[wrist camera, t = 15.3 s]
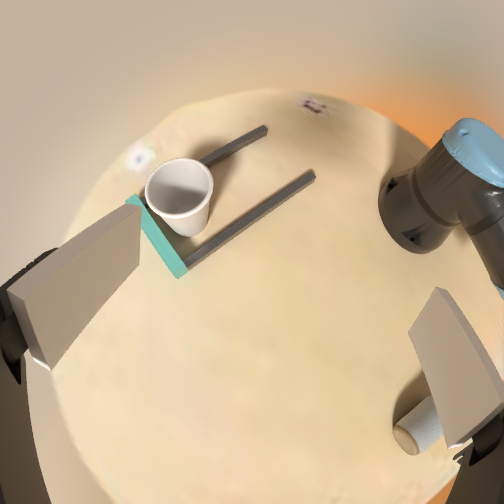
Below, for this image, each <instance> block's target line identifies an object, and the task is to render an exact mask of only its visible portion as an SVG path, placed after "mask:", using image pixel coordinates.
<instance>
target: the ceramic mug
mask: <svg viewBox="0 0 504 504" xmlns="http://www.w3.org/2000/svg"><path fill="white" fill-rule="evenodd" d="M443 434H444V433H443V430H442V426H441V423H440V419H439V416H438V413H437V409H436V406H435V403H434V400H433V397H432V395H429V396H427V397H426V398H425V399H424V400H423V401H421V402H420V403H419V404H418V405H417V406H416V407H415V408H414V409H412V410H411V411H410V412H409V413H408V414H407V415H405V416H404V417H403V418H402V419H401V420H400V421H399V422H398V423H397V424H396V425H395V426H394V428H393V435H394V437H395V440H396V441H397V443H398V444H399V446H400V447H401V448H402V449H403V450H404V451H405V452H406V453H408V454H409V455H413V456H414V455H418V454H420V453H421V452H423V451H424V450H426V449H427V448H428V447H429V446H430V445H432V444H433V443H434V442H435V441H436V440H437V439H439V438H440V437H441V436H442V435H443Z"/></svg>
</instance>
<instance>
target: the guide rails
mask: <svg viewBox="0 0 504 504" xmlns="http://www.w3.org/2000/svg"><path fill="white" fill-rule="evenodd" d="M265 135H267V129H266V128H265V127H264V126H261V127H259V128H257V129H255V130H253V131H251V132H249V133H248V134H246V135H244V136H242V137H240V138H238V139H236V140H235V141H233V142H231V143H229V144H227V145H225V146H224V147H222V148H220V149H218V150H217V151H215V152H213V153H211V154H210V155H208V156H206V157H205V158H203V159H201V160H200V161H199V162H201V163H202V164H204V165H205V166H206V167H207V168H209V167H211V166H213V165H214V164H216V163H218V162H219V161H221V160H223V159H224V158H226V157H228V156H229V155H231V154H233V153H235V152H236V151H238V150H240V149H242V148H243V147H245V146H247V145H249V144H251V143H252V142H254V141H256V140H258V139H260V138H262V137H263V136H265ZM315 178H316V176H315V175H314V174H313V173H312V172H310V173H309V174H307V175H306V176H304V177H303V178H301V179H300V180H298V181H297V182H295V183H294V184H292V185H291V186H289V187H288V188H286V189H285V190H283V191H282V192H280V193H279V194H277V195H276V196H274V197H273V198H271V199H270V200H268V201H267V202H265V203H264V204H262V205H261V206H259V207H258V208H257V209H255V210H254V211H252V212H251V213H249V214H248V215H246V216H245V217H244V218H242V219H241V220H239V221H238V222H236V223H235V224H233V225H232V226H231V227H229V228H228V229H226V230H225V231H224V232H222V233H221V234H219V235H218V236H216V237H215V238H214V239H212V240H211V241H209V242H208V243H207V244H205V245H204V246H202V247H201V248H200V249H198V250H197V251H196V252H194V253H193V254H191V255H190V256H189V257H187V258H186V259H184V260H183V263H184V264H185V266H186V267H187V269H188V271H189V270H190V269H192V268H193V267H194V266H196V265H197V264H198V263H200V262H201V261H202V260H204V259H205V258H207V257H208V256H209V255H211V254H212V253H214V252H215V251H216V250H218V249H219V248H220V247H222V246H223V245H225V244H226V243H227V242H229V241H230V240H232V239H233V238H234V237H236V236H237V235H239V234H240V233H241V232H243V231H244V230H246V229H247V228H248V227H250V226H251V225H253V224H254V223H255V222H257V221H258V220H260V219H261V218H262V217H264V216H265V215H267V214H268V213H270V212H271V211H272V210H274V209H275V208H277V207H278V206H280V205H281V204H282V203H284V202H285V201H287V200H288V199H290V198H291V197H292V196H294V195H295V194H297V193H298V192H300V191H301V190H303V189H304V188H305V187H307V186H308V185H310V184H311V183H313V182H314V180H315ZM140 200H141V202H142V203H143V205H144V206H145V208H146V209H147V208H148V207H149V205H148V203H147V201H146V197H145V196H144V197H142V198H141V199H140Z"/></svg>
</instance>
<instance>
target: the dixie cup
mask: <svg viewBox="0 0 504 504" xmlns="http://www.w3.org/2000/svg"><path fill="white" fill-rule="evenodd" d="M212 192H213V177H212V175H211V173H210V171H209V169H208V168H207V167H206V166H205V165H204V164H202V163H201V162H199V161H197V160H194V159H190V158H176V159H172V160H169V161H166V162H164V163H163V164H161V165H160V166H158V167H157V168H156V169H155V170H154V171H153V172H152V173H151V175H150V176H149V178H148V180H147V183H146V186H145V197H146V201H147V203H148V205H149V206H150V208H151V209H152V210H153V211H154V212H155V213H157V214H159V215H160V216H161V217H162V218H163V220H164V221H165V222H166V223H167V224H168V225H169V226H170V227H171V228H172V229H173V230H174V231H175V232H176V233H177V234H178V235H180V236H183V237H192V236H195V235H197V234H199V233H200V232H202V231H203V230H204V228H205V227H206V224H207V220H208V212H209V204H210V197H211V195H212Z"/></svg>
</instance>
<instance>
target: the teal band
mask: <svg viewBox="0 0 504 504" xmlns="http://www.w3.org/2000/svg"><path fill="white" fill-rule="evenodd" d="M125 202H126V203H129V204H133V205H137V206H141V207H142V215H141V228H142V229H143V231H144V232H145V234H146V235H147V237H148V238H149V240H150V242H151V243H152V245H153V246H154V248H155V249H156V251H157V252H158V254H159V255H160V256H161V258H162V259H163V261H164V262H165V264H166V265H167V267H168V268H169V270H170V271H171V272H172V274H173V275H174V276H175V277H176V278H177V279H178V278H180V277H181V276H182V275H184V274H185V273H186V272H188V269H187V267H186V266H185V264H184V263H183V261H182V260H181V259H180V257H179V256H178V254H177V253H176V252H175V250H174V249H173V247H172V246H171V245H170V243H169V242H168V240H167V239H166V237H165V236H164V235H163V233H162V232H161V230H160V229H159V227H158V226H157V224H156V223H155V221H154V220H153V218H152V217H151V215H150V214H149V212H148V211H147V209H146V208H145V206H144V205H143V203H142V202H141V200H140V199H139V197H138V196H137V194H134V195H133V196H131V197H130V198H129V199H127V200H126V201H125Z"/></svg>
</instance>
